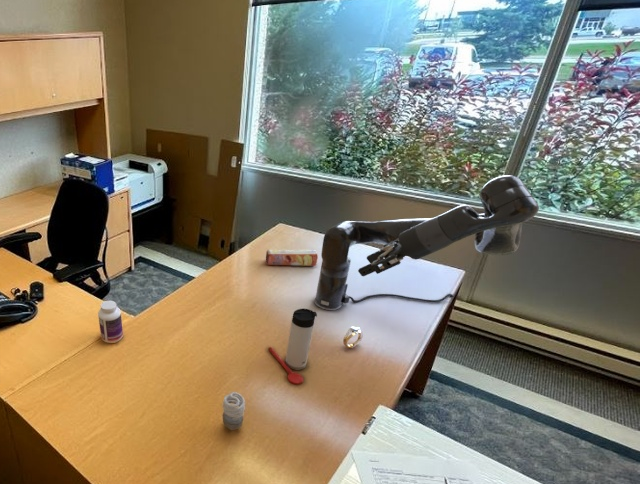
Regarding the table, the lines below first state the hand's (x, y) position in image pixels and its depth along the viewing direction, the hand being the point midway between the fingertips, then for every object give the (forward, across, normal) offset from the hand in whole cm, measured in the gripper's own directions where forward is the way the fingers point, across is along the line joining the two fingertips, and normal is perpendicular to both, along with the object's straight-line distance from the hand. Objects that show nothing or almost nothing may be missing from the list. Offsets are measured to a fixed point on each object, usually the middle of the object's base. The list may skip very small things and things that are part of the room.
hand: (364, 266), depth 112 cm
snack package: (+52, +56, 0) cm, 77 cm away
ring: (+26, +12, -26) cm, 39 cm away
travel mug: (+34, -6, -18) cm, 39 cm away
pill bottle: (+75, -30, +23) cm, 84 cm away
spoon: (+36, -9, -16) cm, 40 cm away
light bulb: (+37, -41, -15) cm, 57 cm away
